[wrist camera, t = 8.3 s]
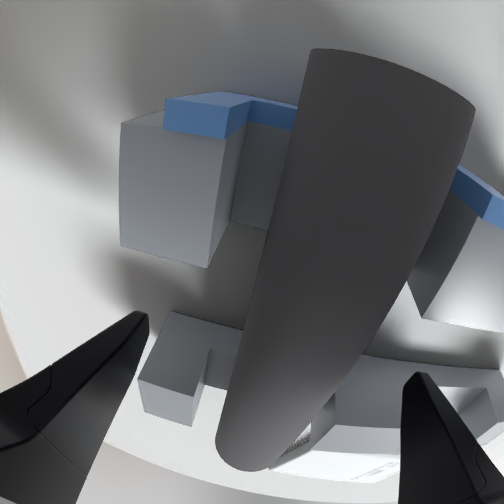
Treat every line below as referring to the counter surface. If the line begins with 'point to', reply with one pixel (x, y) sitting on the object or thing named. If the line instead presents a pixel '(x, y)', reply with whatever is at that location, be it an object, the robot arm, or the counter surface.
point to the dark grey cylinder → (338, 240)
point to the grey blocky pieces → (259, 215)
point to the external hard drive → (338, 465)
